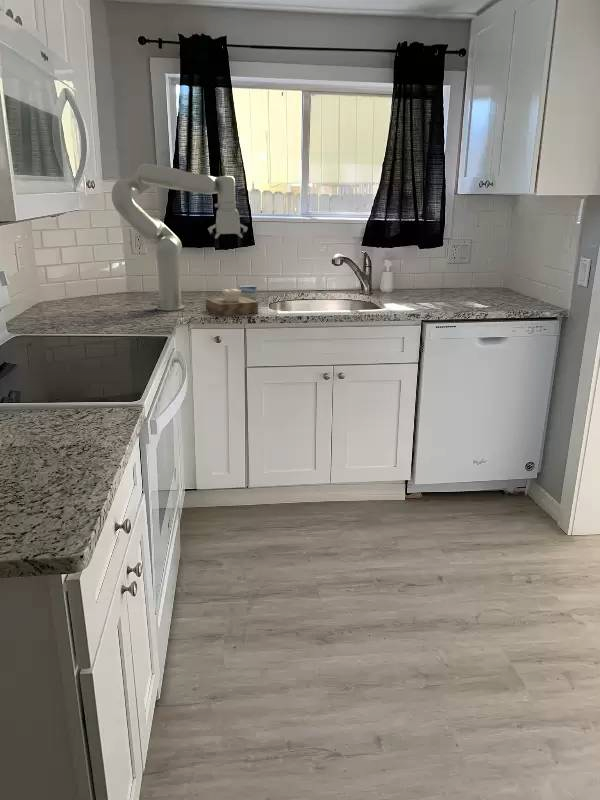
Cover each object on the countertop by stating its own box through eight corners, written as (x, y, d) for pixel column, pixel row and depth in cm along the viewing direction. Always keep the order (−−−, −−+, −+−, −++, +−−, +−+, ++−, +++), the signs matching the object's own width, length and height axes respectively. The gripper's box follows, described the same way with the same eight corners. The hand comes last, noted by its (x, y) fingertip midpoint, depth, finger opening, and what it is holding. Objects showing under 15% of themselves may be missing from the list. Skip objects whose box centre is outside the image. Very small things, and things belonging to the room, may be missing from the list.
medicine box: (240, 305, 290) (240, 286, 287) (238, 303, 294) (238, 285, 291) (256, 304, 292) (256, 286, 289) (254, 303, 296) (254, 285, 293)
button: (228, 305, 268) (227, 291, 266) (222, 303, 274) (221, 289, 272) (241, 304, 271) (241, 290, 269) (235, 302, 277) (235, 288, 275)
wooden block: (220, 316, 263) (220, 304, 261) (206, 310, 276) (205, 299, 274) (258, 313, 271) (257, 301, 270) (242, 307, 284) (242, 296, 283)
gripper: (208, 207, 259) (210, 248, 264) (248, 206, 263) (249, 247, 269) (205, 206, 265) (207, 247, 271) (245, 206, 270) (246, 246, 275)
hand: (228, 247), depth 270 cm, fingers open, 9 cm apart
